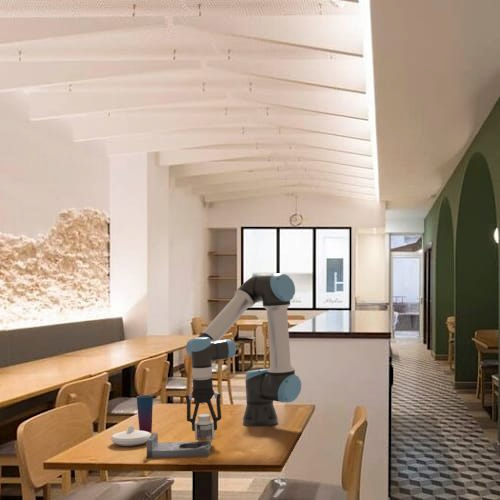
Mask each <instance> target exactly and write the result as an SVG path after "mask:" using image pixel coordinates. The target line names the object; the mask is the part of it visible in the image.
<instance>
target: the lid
mask: <svg viewBox="0 0 500 500" xmlns="http://www.w3.org/2000/svg"><path fill="white" fill-rule="evenodd" d="M151 434H152V433H149V432H147V431H140V430H138V429H135V425H132V424H131V425H128V427H127V430H124V431H120V432H116V433H113V434H112V435H111V437H110V440H111V442H112V443H114V444H116V445H118V446H123V447H124V446H125V447H132V446H139V445H143V444H146V441H147V440H148V438H149V437H150V436H151Z"/></svg>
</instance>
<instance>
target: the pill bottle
mask: <svg viewBox="0 0 500 500" xmlns="http://www.w3.org/2000/svg"><path fill="white" fill-rule="evenodd" d="M197 415H198V416H197V418H198V421H196V422H197V436H198V440H197V442H202V441H211V442H212V441H213V440H212V423H211V422H212V420H211V414H208V413H202V414H197Z"/></svg>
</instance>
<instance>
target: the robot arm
mask: <svg viewBox="0 0 500 500" xmlns="http://www.w3.org/2000/svg"><path fill="white" fill-rule="evenodd" d="M295 293H296V285H295V282H294V281H293V279H292V278H291V276H289V275H287V274H286V273H277V272H276V273H258V274H255V275H253V276H251V277H250V278H248V279H246V281H245V282H243V284H241V285H240V286H239V287H238V288H237V289H236V291H234V297H232V298H231V299H230V301H229V302H228V303H227V304H226V305H225V306H224V307H223V308H222V310H221V311H220V312H219V313H218V314H217V315H216V317H214V319H212V320H211V322H210V323H209V324H208V325H207V326H206V327H205V328H204V330H203V331H202V332H201V333H200V334H199V335H198V336H197V337H193V338H191V339H189V340H188V341H187V342H186V344H185V350H186V353H187V355H188V356H189V357H191V372H192V374H191V375H192V378H193V379H192V392H191V393H189V394H186V395H185V400H186V421H187V422H190V423H191V430H192V432H194V436H195V437H194V438H195V440H194V441H198V436H197V422H198V421H196V419H197V417H198V416H197V415H198V412H199V411H198V410H199V407H200V404H207V406H208V409H209V413H210V416H211V418H212V420H211V423H212V441H213V440H215V439H216V436H215V435H216V433H215V431H217V430H218V421H220V420H222V410H221V396H222V394H221V393H220V392H215V390H214V389H213V378H212V377H213V366H212V365H213V364H212V362H213V361H219V360H228V359H232V358H233V357H234V356H235V355H236V352H237V348H236V344H235V341H234V340H232V339H229V338H228V339H227V338H226V339H225V338H224V339H222V338H223V337H224V336H225V335H226V333H227V332H228V331H229V330H230V329H231V328H232V326H234V324H235V323H236V322H237V321H239V318H241V316H243V314H244V313H245V312H246V310H247V309H248V308H249V309H251V308H252V307H253V306H254V305H255V304H256V303H258V302H262V307H263V308H264V309H265V311H266V318H267V334H268V335H267V336H268V349H269V351H268V352H269V363H270V365H269V367H268V368H262V369H254V370H248V371H247V372H246V373H245V381H244V382H245V397H246V399H245V400H246V401H245V402H246V407H245V410H244V412H243V416H242V424H243V425H245V426H249V427H250V426H251V427H267V426H273V425H276V424H278V423H279V417H278V414H277V411H276V408H275V405H274V402H280V403H283V404H284V403H292V402H294V401H295V400H297V398H298V396H299V395H300V393H301V391H302V381H301V379H300V378H299V376H298V375H296V372H295V371H296V370H295V368H294V367H293V366H292V363H291V350H290V335H289V334H290V333H289V321H288V320H289V319H288V308H289V307H290V306H291V300H293V299H294V296H295ZM193 398H194V400H195V405H194V410H193V413H192V414H193V415H192V414H191V409H192V405H191V404H192V399H193ZM212 398H214V399H216V400H215V401H216V403H215V404H216V412H215V409H214V406H213V404H212V401H211V400H212ZM216 415H217V416H216ZM191 416H192V417H191Z"/></svg>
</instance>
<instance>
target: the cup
mask: <svg viewBox="0 0 500 500" xmlns="http://www.w3.org/2000/svg"><path fill="white" fill-rule="evenodd" d="M153 401H154V395H151V394H141V395H138V396H137V395H136V404H137V406H136V407H137V417H138V429H139V430H140V431H147V432H149V433H150V434H152V431H153V429H152V428H153V405H154V404H153Z"/></svg>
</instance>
